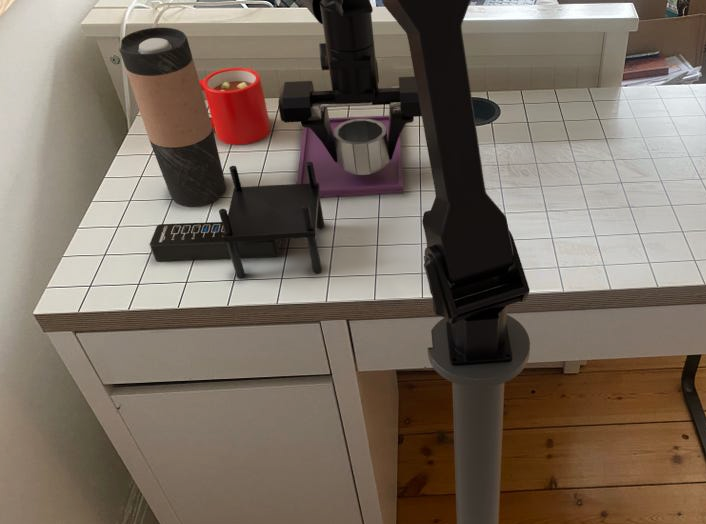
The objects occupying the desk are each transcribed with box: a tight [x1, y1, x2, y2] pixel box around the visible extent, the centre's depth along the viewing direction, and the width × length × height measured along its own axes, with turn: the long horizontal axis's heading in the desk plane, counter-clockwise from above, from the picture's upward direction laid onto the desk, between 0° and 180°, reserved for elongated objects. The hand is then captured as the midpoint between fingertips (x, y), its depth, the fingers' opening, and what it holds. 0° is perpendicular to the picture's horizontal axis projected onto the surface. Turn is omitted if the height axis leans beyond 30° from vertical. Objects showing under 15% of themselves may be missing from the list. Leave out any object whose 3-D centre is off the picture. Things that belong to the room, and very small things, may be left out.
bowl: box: [334, 119, 389, 175], centre depth 99 cm, size 7×7×5 cm
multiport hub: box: [149, 221, 282, 262], centre depth 90 cm, size 4×14×2 cm, turn 94°
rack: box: [218, 162, 325, 279], centre depth 87 cm, size 10×10×9 cm
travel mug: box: [118, 26, 227, 207], centre depth 92 cm, size 8×8×20 cm
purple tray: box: [295, 114, 404, 199], centre depth 105 cm, size 20×14×1 cm
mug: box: [199, 67, 272, 146], centre depth 108 cm, size 8×12×8 cm, turn 90°
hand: (363, 159), depth 100 cm, fingers closed on bowl, 7 cm apart
